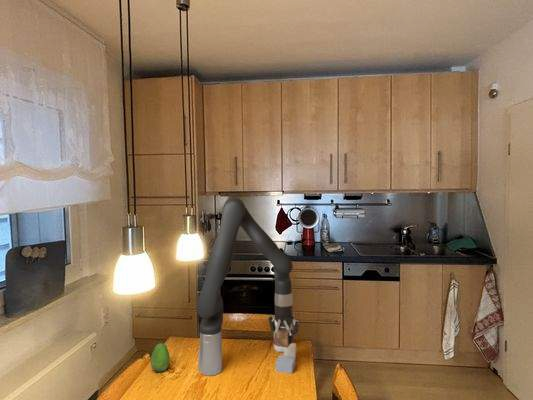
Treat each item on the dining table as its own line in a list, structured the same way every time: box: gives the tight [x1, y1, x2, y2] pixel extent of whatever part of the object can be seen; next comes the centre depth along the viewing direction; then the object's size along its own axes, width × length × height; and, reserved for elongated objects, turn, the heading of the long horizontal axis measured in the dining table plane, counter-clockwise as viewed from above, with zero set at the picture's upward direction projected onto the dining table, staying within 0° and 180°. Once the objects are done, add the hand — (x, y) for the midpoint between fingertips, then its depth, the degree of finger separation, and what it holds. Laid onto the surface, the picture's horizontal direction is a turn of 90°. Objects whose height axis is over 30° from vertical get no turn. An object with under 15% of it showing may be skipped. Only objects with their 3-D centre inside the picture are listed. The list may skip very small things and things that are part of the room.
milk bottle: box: [273, 320, 285, 353], centre depth 167 cm, size 8×8×20 cm
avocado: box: [150, 342, 171, 373], centre depth 149 cm, size 8×8×12 cm
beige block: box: [283, 342, 297, 360], centre depth 158 cm, size 5×5×6 cm
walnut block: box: [276, 327, 290, 348], centre depth 149 cm, size 5×5×6 cm
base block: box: [275, 354, 296, 374], centre depth 150 cm, size 7×7×4 cm
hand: (284, 341), depth 149 cm, fingers closed on walnut block, 5 cm apart
